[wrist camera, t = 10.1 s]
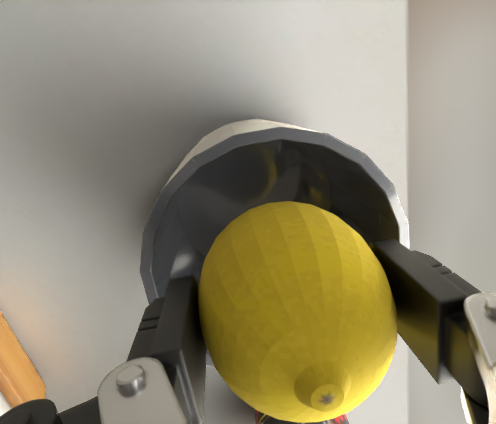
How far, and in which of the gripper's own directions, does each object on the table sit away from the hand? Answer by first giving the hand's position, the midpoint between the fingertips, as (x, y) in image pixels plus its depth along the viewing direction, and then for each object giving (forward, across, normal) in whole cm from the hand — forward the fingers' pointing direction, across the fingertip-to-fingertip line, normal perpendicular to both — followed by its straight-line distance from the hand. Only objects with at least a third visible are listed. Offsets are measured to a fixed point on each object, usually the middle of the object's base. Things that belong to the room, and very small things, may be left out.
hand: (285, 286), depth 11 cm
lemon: (+4, 0, 0) cm, 4 cm away
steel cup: (+11, 0, 0) cm, 11 cm away
